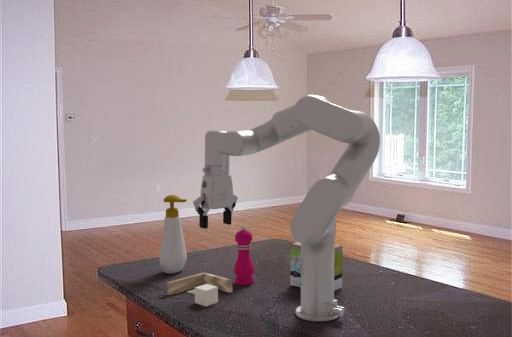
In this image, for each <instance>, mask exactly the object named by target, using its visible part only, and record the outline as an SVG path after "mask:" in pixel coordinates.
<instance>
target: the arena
mask: <svg viewBox="0 0 512 337" xmlns="http://www.w3.org/2000/svg"><path fill="white" fill-rule="evenodd" d="M205 284H209V285H213V286H216V287H218V289H219V290H218V291H222V292H226V293H233V279H231V278H228V277H223V276H219V275H216V274H212V273H207V272H200V273H196V274H193V275H189V276H185V277H183V278H178V279H174V280H171V281H168V282H166V294H167V296H173V295H177V294H179V293H183V292H186V293H187V294H189V295H190V294H191V295H193V296H195V287H198V286H201V285H205Z"/></svg>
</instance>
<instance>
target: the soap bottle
mask: <svg viewBox="0 0 512 337" xmlns="http://www.w3.org/2000/svg"><path fill="white" fill-rule="evenodd" d="M187 200H188V199H187V198H186V199H185V198H181V197H180V196H177V195H175V194H169V195H167V196H166V197H164V198H163V202H164V203H169V207H168V208H166V209H165V217H164V222H163V229H162V236H161V245H160V252H159V265H160V267H161V270H162V271H163V273H165V274H169V275H173V274H177V273H180V272H181V271H182V270H183V268H185V265H186V262H187V259H188V258H187V256H188V254H187V249H186V243H185V237H184V233H183V229H182V222H181V216H180V215H179V209H178V208H177V207H175V203H186V202H187Z"/></svg>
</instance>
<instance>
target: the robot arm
mask: <svg viewBox="0 0 512 337" xmlns="http://www.w3.org/2000/svg"><path fill="white" fill-rule="evenodd" d="M311 131H314V132H317V133H319V134H321V135H324V136H325V137H327V138H329V139H333V140H335V141H338V142H341V143H345V144H347V147H346V149H345V150H344V151H343V152H342V153H341V155H340V157H339V158H338V160H337V162H336V164H335V165H334V166H333V168H332V169H331V171H330V172H329V173H328V175H326V176H324V177H321V178H319V179H318V180H316V182H314V184H313V185H312V186H311V187H310V188H309V190H308V192H307V193H306V194H305V197H304V198H303V200H302V201H301V203H300V204H299V205H298V206H299V207H298V208H297V209H296V211H295V213H294V214H293V216H292V218H291V221H290V224H289V226H290V227H289V228H290V230H289V231H290V234H291V237H293V239H294V240H295V241H296V243H297V242H299V243H300V244H301V287H300V305H299V306H297V307H296V308H295V315H296V316H297V318H299V319H302V320H305V321H310V322H330V321H333V320H336V319H337V318H338V317H343V316H344V314H345V310H346V308H345V306H341V305H338V299H335V291H334V245H336V244H335V243H336V231H337V219H336V216H337V215H338V213H339V212H340V210H341V209H342V208H344V207H346V206H347V205H348V204H349V203H350V201H352V198H353V196H354V195H355V194H356V191H357V190H358V188H359V187H360V185H361V184H362V183H363V181H364V179H365V177H366V176H367V174H368V172H369V171H370V169H371V167H372V166H373V164H374V163H375V161H376V158H377V157H378V153H379V150H380V146H381V136H380V131H379V129H378V126H377V124H376V122H375V121H374V119H373V118H372V117H371V116H370V115H369V114H367V113H366V112H363V111H360V110H351V109H347V108H345V107H342V106H340V105H337V104H334V103H331V101H330V100H329V99H327V98H326V97H324V96H322V95H316V94H307V95H304V96H302V97H300V98H299V99H298V100H297V101H296V103H295V104H293V105H291V106H289V107H286V108H283V109H282V110H278V111H277V112H275V113H274V114H272V117H271V119H269V120H267V121H266V122H265V123H262V124H260V125H259V126H256V127H254V128H251V129H248V130H233V131H232V130H231V131H227V130H219V129H218V130H212V129H210V130H208V131H206V133H205V135H204V167H203V168H202V172H203V173H204V175H203V176H202V179H201V180H202V181H201V186H200V196H198V198H196V199H195V200H193V201H192V205H193V207H194V209H195V210H194V211H195V212H197V215H199V220H198V221H199V228H200V229H205V230H206V229H208V228H209V215H208V213H209V211H210V210H219V209H223V214H222V216H223V217H222V223H223V224H226V225H228V226H231V225H232V218H233V217H232V216H233V215H232V214H233V212H234V209H235V208H236V205H237V204H236V203H237V201H238V199H239V198H238V196H237V195H235V194H234V185H233V179H232V175H231V174H230V156H232V157H242V156H249V155H254V154H257V153H260V152H261V151H264V150H266V149H269V148H272V147H274V146H277V145H279V144H281V143H284V142H286V141H288V140H291V139H293V138H295V137H298V136H300V135H302V134H305V133H308V132H311Z"/></svg>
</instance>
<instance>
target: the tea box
mask: <svg viewBox="0 0 512 337" xmlns="http://www.w3.org/2000/svg"><path fill="white" fill-rule="evenodd" d="M289 251H290V252H289V254H290V260H289V261H290V263H289V264H290V265H289V266H290V268H289V271H290V274H289V276H290V286H293V287H298V288H301V244H300V243H299V242H297V241H296V242H294V243H290V250H289ZM341 288H343V245H339V244H335V245H334V292H335V291H337V290H340V289H341Z"/></svg>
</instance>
